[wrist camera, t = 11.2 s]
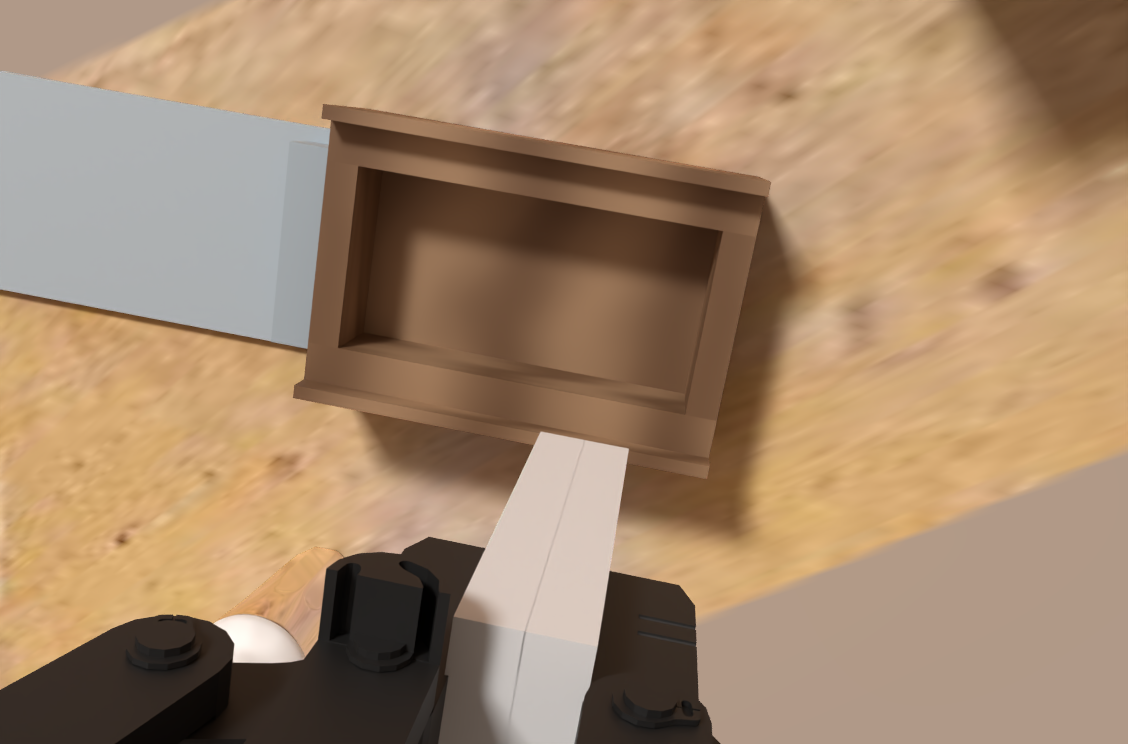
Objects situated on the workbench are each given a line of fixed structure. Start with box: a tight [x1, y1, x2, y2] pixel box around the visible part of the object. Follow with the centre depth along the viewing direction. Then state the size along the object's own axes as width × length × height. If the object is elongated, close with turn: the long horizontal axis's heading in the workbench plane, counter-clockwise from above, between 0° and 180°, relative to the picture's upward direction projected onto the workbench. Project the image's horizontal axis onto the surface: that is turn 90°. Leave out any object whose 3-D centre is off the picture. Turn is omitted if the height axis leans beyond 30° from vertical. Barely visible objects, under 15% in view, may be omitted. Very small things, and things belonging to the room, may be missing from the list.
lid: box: [0, 71, 330, 349], centre depth 40 cm, size 16×9×3 cm, turn 81°
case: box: [293, 104, 771, 479], centre depth 38 cm, size 16×11×5 cm
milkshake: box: [213, 547, 344, 663], centre depth 40 cm, size 4×5×10 cm
